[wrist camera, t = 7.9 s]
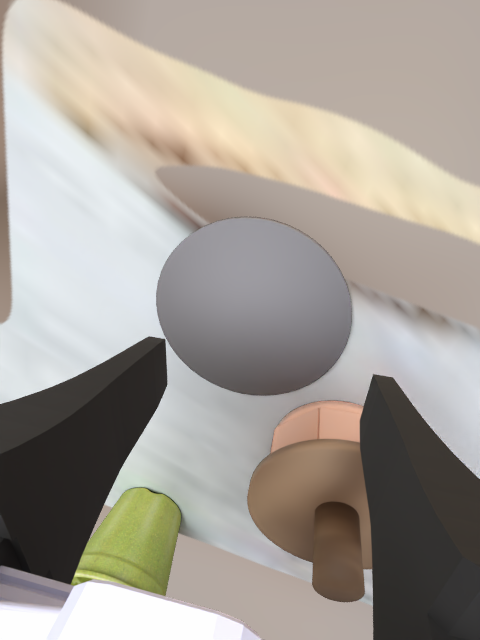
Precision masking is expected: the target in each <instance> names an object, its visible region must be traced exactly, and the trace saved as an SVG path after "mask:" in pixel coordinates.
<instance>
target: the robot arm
mask: <svg viewBox="0 0 480 640" xmlns="http://www.w3.org/2000/svg"><path fill="white" fill-rule="evenodd" d="M166 387H167V365H166V343H165V339H161V338H155V337H147V338H145V339H144V340H142V341H140V342H138V343H136V344H135V345H133V346H131V347H130V348H128V349H126V350H124V351H123V352H121V353H119V354H117V355H116V356H114V357H112V358H110V359H109V360H107V361H105V362H103V363H101V364H99V365H98V366H96V367H94V368H92V369H90V370H88V371H86V372H84V373H82V374H80V375H78V376H76V377H74V378H72V379H69V380H67V381H65V382H63V383H60V384H58V385H55V386H53V387H50V388H48V389H45V390H43V391H40V392H37V393H34V394H31V395H28V396H25V397H22V398H19V399H16V400H13V401H10V402H6V403H3V404H0V640H263V639H260V637H259V635H258V634H257V632H255V631H254V630H253V629H251V628H250V627H249V626H248V625H246V624H245V623H244V622H243V621H242V620H239V619H237V618H235V617H232V616H230V615H227V614H225V613H223V612H220V611H217V610H213V609H210V608H206V607H202V606H199V605H195V604H192V603H188V602H185V601H180V600H177V599H173V598H170V597H166V596H163V595H159V594H156V593H152V592H148V591H145V590H141V589H138V588H134V587H130V586H127V585H123V584H119V583H116V582H111V581H104V580H96V579H92V580H89V581H87V582H84V583H81V584H78V585H76V586H73V585H71V583H72V580H73V578H74V575H75V572H76V570H77V567H78V565H79V562H80V560H81V557H82V555H83V552H84V550H85V547H86V545H87V543H88V540H89V538H90V535H91V533H92V531H93V528H94V526H95V524H96V521H97V519H98V517H99V515H100V512H101V510H102V508H103V506H104V503H105V501H106V499H107V497H108V495H109V492H110V490H111V488H112V486H113V484H114V482H115V480H116V478H117V476H118V474H119V471H120V469H121V468H122V466H123V464H124V462H125V460H126V459H127V457H128V455H129V454H130V452H131V450H132V449H133V447H134V446H135V444H136V442H137V441H138V439H139V437H140V436H141V434H142V432H143V431H144V429H145V428H146V426H147V424H148V423H149V421H150V419H151V418H152V416H153V414H154V413H155V411H156V409H157V407H158V405H159V403H160V401H161V398H162V396H163V394H164V391H165V389H166ZM360 452H361V459H362V466H363V473H364V480H365V487H366V494H367V501H368V508H369V515H370V525H371V545H372V574H373V628H374V630H373V640H480V479H479V478H478V477H477V476H476V475H474V474H473V473H472V472H471V471H470V470H469V469H468V468H467V467H466V466H465V465H464V464H463V463H462V462H461V461H460V460H459V459H458V458H457V457H456V456H455V455H454V454H453V453H452V452H451V451H450V449H449V448H448V447H447V446H446V445H445V444H444V443H443V442H442V440H441V439H440V438H439V437H438V436H437V435H436V434H435V432H434V431H433V430H432V429H431V428H430V427H429V425H428V424H427V423H426V422H425V420H424V419H423V418H422V417H421V415H420V414H419V413H418V411H417V410H416V409H415V407H414V406H413V405H412V403H411V402H410V401H409V399H408V398H407V397H406V395H405V394H404V392H403V391H402V390H401V388H400V387H399V385H398V384H397V383H396V381H395V380H394V379H393V378H392V377H386V376H380V375H374V374H373V377H372V381H371V384H370V387H369V391H368V394H367V397H366V401H365V404H364V407H363V411H362V414H361V418H360Z"/></svg>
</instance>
